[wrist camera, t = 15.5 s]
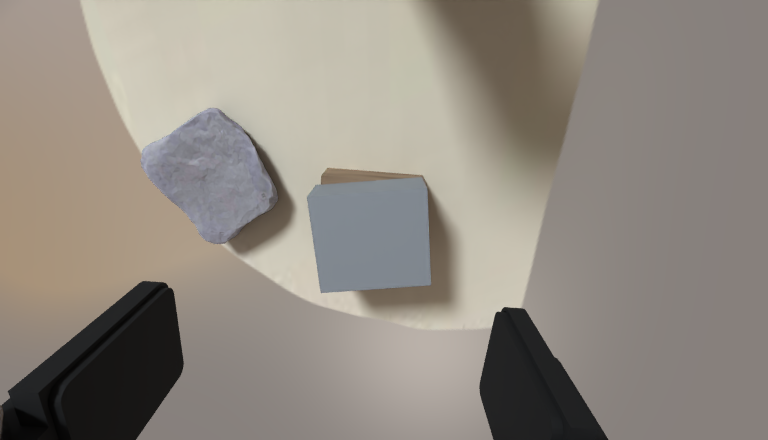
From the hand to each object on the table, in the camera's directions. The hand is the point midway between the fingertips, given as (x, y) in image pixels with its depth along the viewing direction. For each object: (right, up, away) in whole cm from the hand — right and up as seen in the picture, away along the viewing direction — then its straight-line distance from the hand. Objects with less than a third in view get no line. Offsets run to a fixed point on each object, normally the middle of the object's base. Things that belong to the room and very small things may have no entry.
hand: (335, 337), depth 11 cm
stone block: (-11, +11, +27) cm, 31 cm away
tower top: (0, +3, +25) cm, 26 cm away
